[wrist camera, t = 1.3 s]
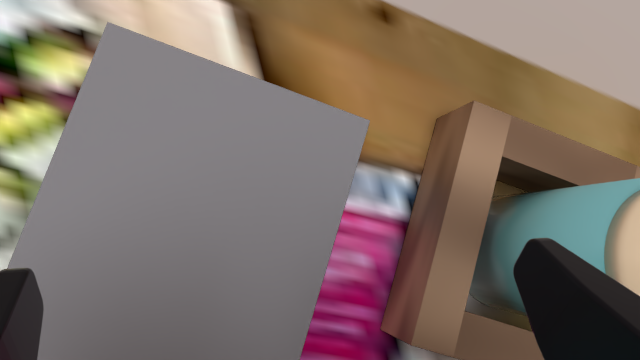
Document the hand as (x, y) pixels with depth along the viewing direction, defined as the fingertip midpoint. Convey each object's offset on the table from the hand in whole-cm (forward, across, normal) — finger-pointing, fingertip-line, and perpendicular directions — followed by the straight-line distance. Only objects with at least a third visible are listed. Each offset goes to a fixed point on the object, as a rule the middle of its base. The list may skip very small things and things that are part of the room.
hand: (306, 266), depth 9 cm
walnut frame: (+9, -13, +10) cm, 19 cm away
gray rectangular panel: (+8, +3, +11) cm, 14 cm away
